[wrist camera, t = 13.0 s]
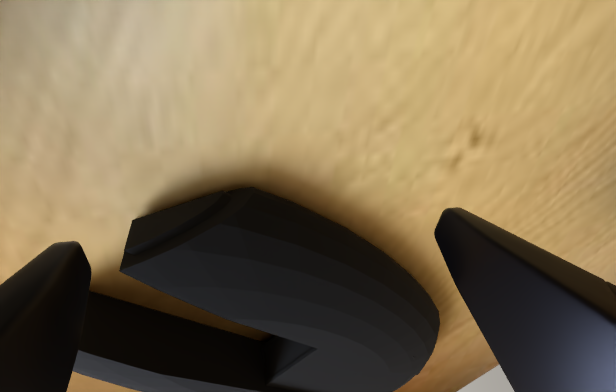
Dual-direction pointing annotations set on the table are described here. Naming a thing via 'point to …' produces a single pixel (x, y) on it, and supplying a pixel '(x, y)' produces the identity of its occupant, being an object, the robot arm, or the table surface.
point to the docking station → (259, 304)
